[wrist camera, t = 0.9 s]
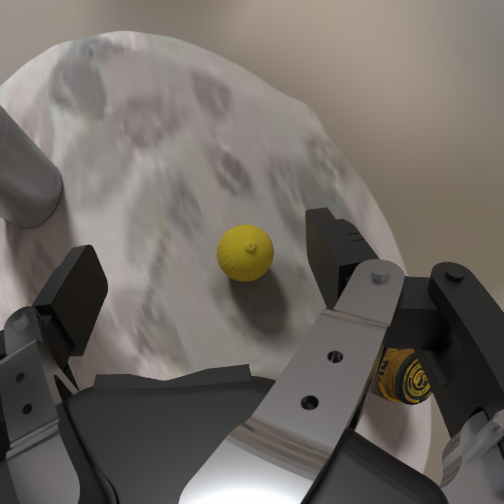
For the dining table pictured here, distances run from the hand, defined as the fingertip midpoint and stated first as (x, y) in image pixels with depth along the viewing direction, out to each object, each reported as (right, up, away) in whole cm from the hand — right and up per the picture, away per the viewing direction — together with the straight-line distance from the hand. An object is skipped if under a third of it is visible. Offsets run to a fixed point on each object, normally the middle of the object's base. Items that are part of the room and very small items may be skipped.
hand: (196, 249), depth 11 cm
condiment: (+15, -13, +24) cm, 31 cm away
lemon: (+1, -1, +24) cm, 24 cm away
